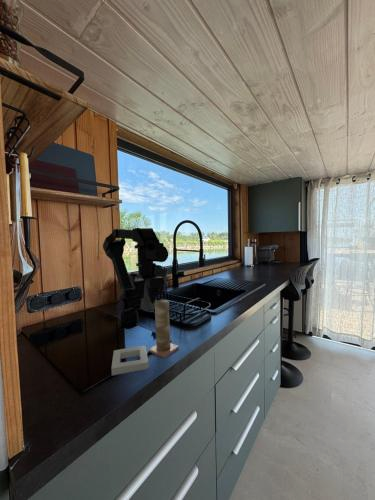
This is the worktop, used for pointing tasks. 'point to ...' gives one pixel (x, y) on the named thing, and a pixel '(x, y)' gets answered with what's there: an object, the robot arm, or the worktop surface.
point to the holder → (131, 365)
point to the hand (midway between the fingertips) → (147, 300)
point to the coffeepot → (148, 300)
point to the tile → (163, 353)
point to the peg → (162, 325)
